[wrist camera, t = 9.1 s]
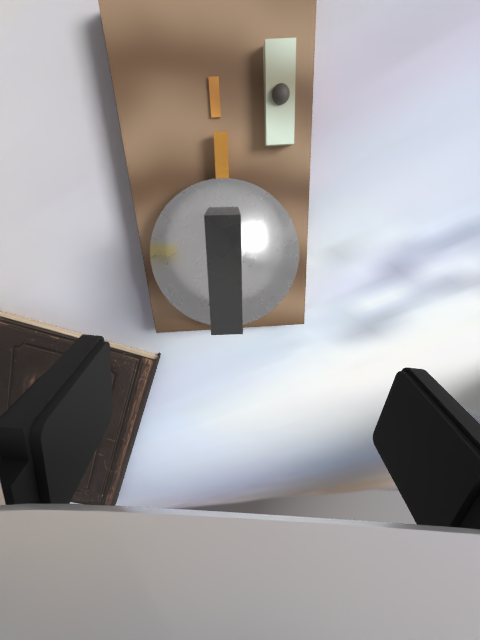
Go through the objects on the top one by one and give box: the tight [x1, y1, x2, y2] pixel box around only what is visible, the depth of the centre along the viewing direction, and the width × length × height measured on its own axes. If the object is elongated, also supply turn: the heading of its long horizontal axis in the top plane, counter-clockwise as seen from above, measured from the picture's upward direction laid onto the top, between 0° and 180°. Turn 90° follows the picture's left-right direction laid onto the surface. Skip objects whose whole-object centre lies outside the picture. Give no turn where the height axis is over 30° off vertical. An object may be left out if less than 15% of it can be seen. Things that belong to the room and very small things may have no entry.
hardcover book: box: [0, 311, 161, 506], centre depth 36 cm, size 16×23×2 cm
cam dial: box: [150, 132, 299, 335], centre depth 23 cm, size 15×12×7 cm
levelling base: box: [98, 0, 316, 333], centre depth 25 cm, size 24×14×4 cm, turn 3°
